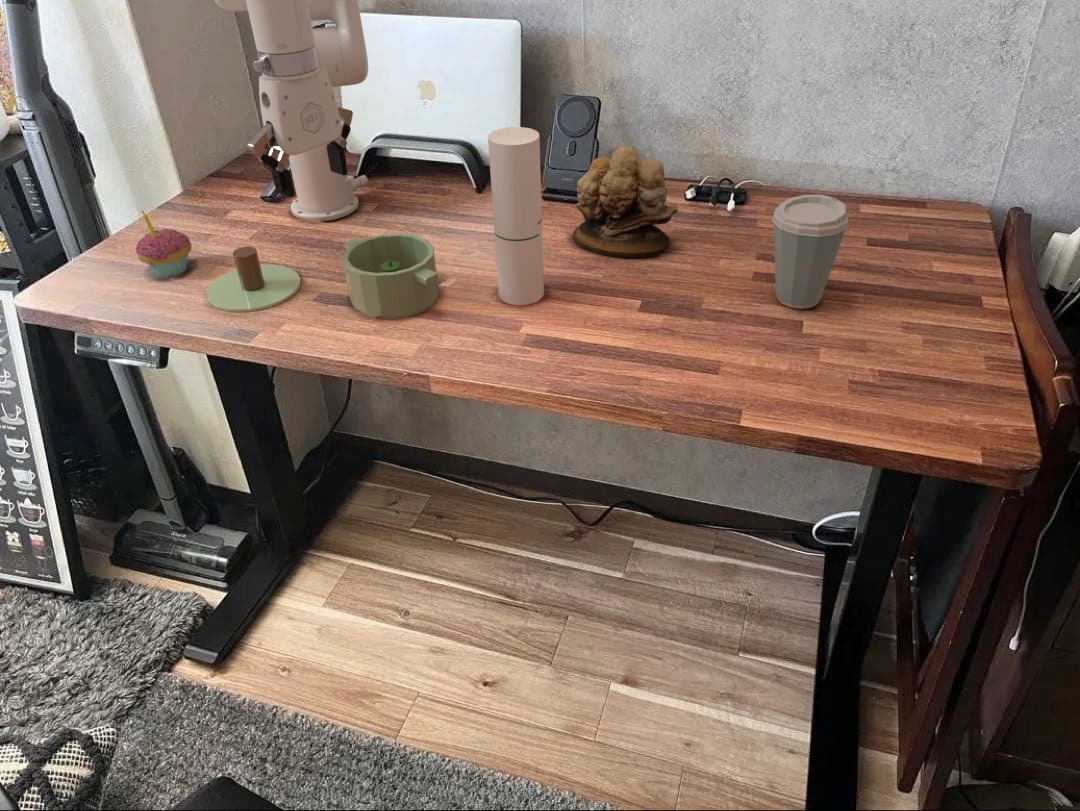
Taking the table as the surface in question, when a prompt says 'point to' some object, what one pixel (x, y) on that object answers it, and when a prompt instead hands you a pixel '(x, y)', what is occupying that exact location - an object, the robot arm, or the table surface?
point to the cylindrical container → (517, 213)
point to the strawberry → (390, 267)
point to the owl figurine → (623, 206)
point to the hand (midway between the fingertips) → (313, 183)
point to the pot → (391, 275)
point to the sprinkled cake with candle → (164, 250)
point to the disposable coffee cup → (806, 247)
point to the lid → (252, 284)
